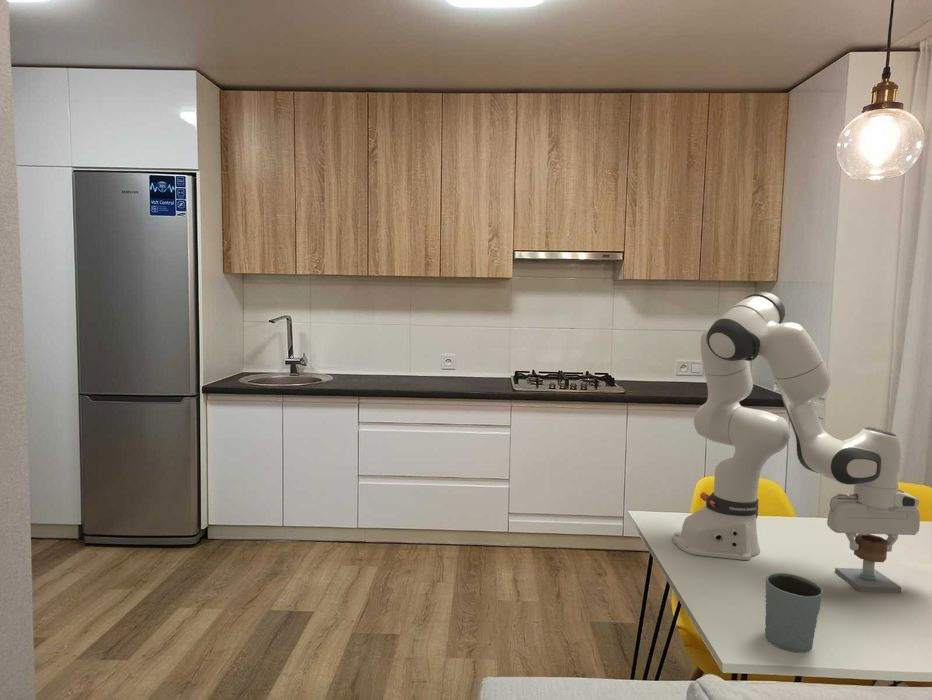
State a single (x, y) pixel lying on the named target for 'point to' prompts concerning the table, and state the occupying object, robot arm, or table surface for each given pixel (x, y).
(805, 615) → the grey blue cup
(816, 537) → the table surface
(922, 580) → the table surface
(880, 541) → the ring
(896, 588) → the shaft stand
